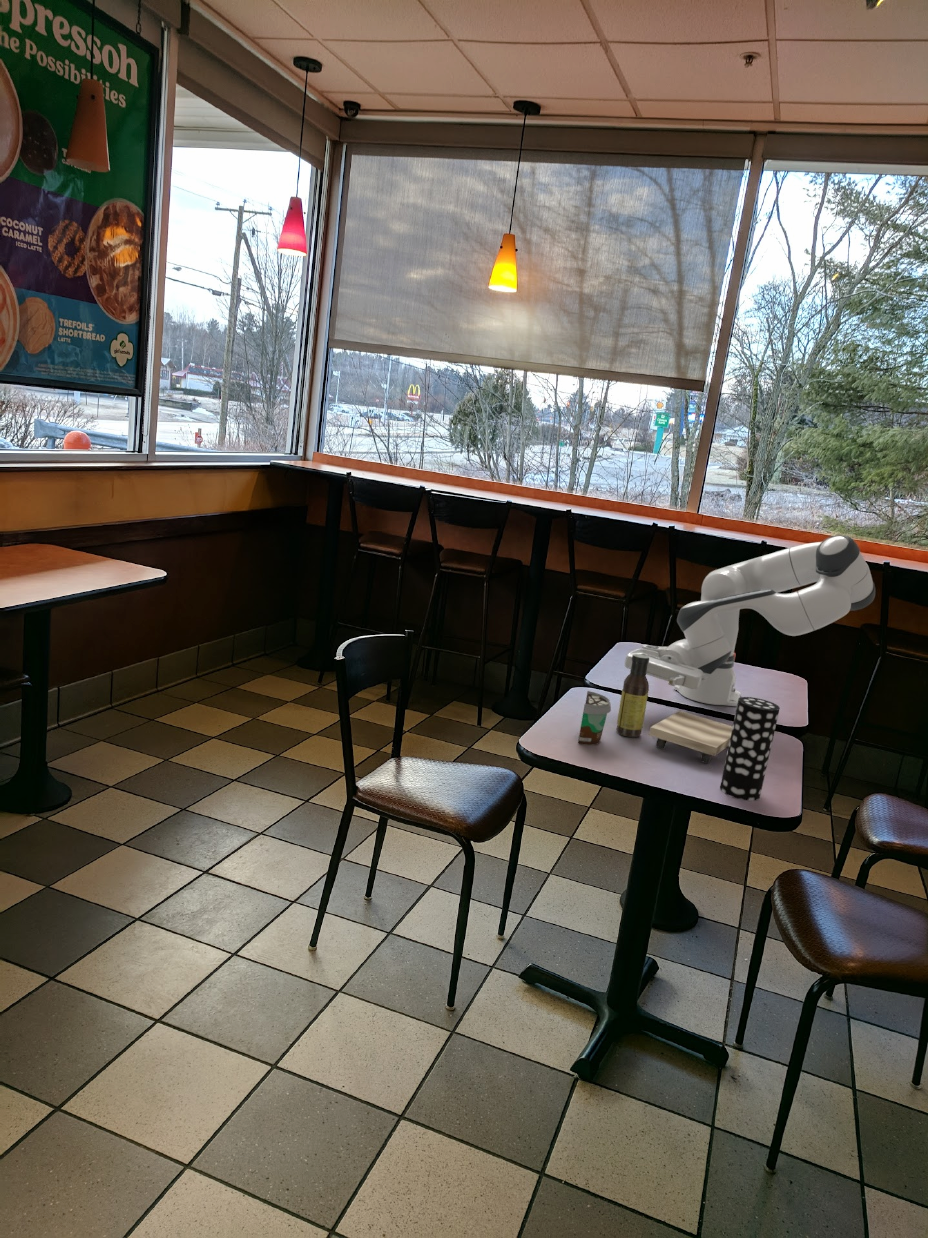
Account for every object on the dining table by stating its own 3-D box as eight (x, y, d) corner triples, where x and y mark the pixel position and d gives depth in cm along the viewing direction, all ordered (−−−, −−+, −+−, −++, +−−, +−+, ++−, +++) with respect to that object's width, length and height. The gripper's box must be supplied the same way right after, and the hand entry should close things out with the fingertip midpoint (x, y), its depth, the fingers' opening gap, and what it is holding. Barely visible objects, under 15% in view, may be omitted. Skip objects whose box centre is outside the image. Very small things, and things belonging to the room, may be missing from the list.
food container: (604, 750, 199) (611, 709, 196) (577, 745, 200) (584, 704, 197) (606, 734, 210) (613, 694, 208) (581, 729, 211) (587, 690, 209)
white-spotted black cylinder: (768, 800, 182) (788, 711, 178) (734, 800, 179) (754, 709, 175) (744, 784, 190) (763, 697, 185) (712, 784, 187) (730, 696, 183)
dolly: (676, 729, 222) (679, 710, 220) (737, 748, 213) (742, 729, 212) (646, 746, 205) (650, 727, 204) (712, 768, 197) (716, 747, 196)
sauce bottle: (645, 738, 211) (660, 659, 207) (625, 739, 209) (639, 660, 204) (630, 728, 217) (644, 652, 213) (609, 729, 214) (623, 652, 210)
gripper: (706, 687, 228) (690, 701, 216) (633, 664, 237) (615, 676, 226) (711, 664, 226) (696, 678, 215) (638, 642, 236) (619, 653, 224)
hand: (653, 677), depth 220 cm, fingers open, 8 cm apart
